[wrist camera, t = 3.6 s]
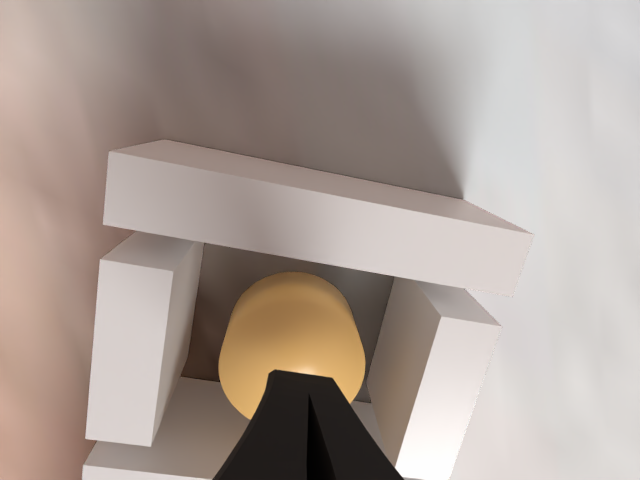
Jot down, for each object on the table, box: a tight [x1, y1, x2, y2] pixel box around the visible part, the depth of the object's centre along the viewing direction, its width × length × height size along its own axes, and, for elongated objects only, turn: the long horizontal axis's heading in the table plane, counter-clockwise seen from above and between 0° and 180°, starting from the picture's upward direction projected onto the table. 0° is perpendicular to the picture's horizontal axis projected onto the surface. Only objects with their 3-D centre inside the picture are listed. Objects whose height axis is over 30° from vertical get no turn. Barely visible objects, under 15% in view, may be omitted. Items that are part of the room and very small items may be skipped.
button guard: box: [82, 139, 534, 480], centre depth 12 cm, size 9×9×4 cm
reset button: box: [218, 272, 365, 420], centre depth 12 cm, size 4×4×2 cm
